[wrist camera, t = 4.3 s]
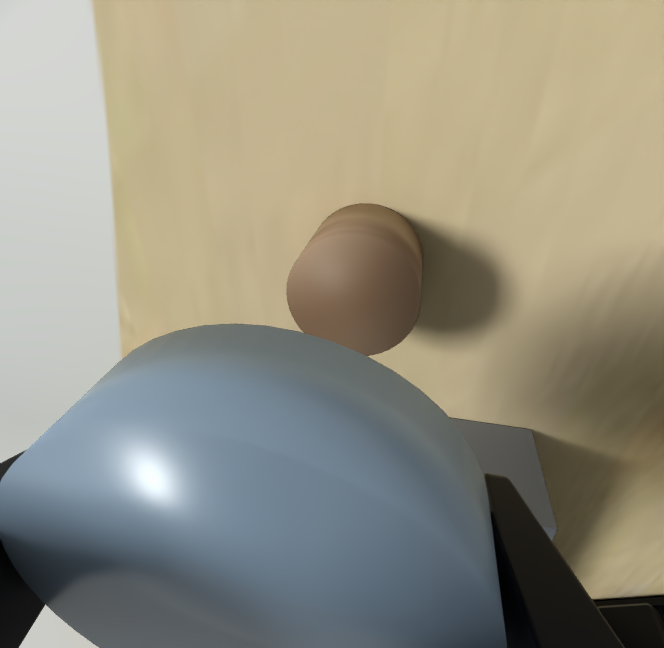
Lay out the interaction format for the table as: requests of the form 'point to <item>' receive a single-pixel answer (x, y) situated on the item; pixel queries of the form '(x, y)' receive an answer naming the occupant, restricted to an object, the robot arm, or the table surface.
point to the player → (512, 463)
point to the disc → (256, 503)
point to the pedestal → (359, 279)
